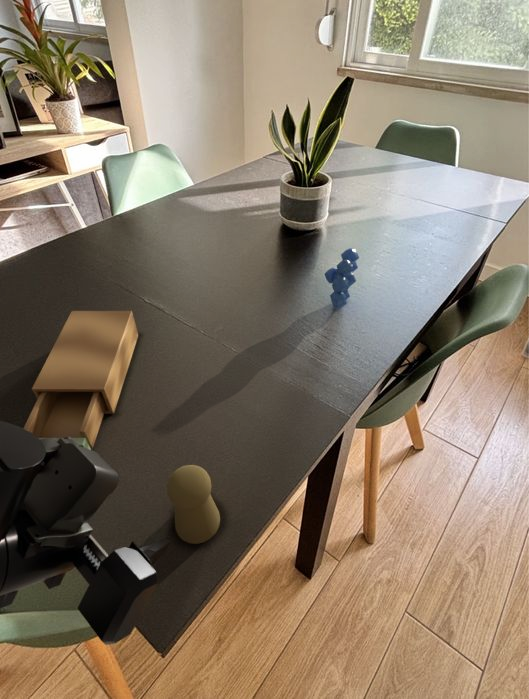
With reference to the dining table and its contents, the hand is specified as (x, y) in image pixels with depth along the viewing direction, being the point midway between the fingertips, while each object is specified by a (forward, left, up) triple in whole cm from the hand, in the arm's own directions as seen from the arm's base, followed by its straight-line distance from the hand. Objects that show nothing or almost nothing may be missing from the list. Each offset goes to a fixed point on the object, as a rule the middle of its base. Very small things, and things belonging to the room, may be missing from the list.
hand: (138, 514), depth 45 cm
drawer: (+6, +26, -12) cm, 29 cm away
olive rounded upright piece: (+7, 0, -13) cm, 14 cm away
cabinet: (+15, +33, -13) cm, 39 cm away
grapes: (+60, +10, -13) cm, 62 cm away
